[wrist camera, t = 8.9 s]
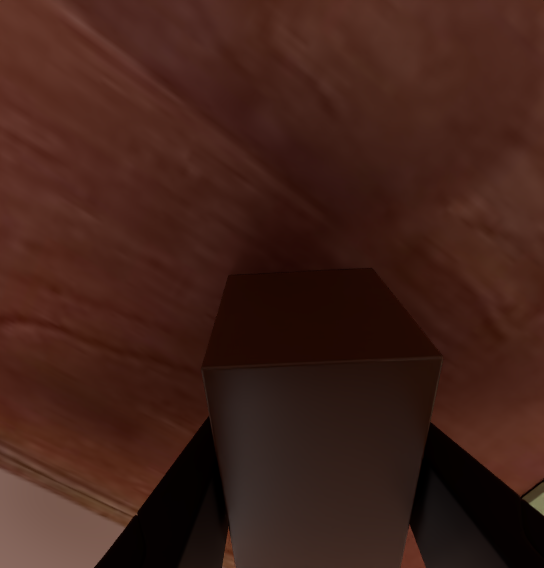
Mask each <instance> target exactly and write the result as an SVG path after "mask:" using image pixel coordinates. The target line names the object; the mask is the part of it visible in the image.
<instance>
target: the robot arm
mask: <svg viewBox="0 0 544 568" xmlns="http://www.w3.org/2000/svg"><path fill="white" fill-rule="evenodd" d="M137 514H138V516H137V515H135V516H134V517H133V518H132V520H131V521H130V522H129V524H128V525H127V527H126V528H125V529H124V531H123V532H122V533H121V534H120V536H119V537H118V538H117V540H116V541H115V542H114V544H113V545H112V546H111V547H110V549H109V550H108V551H107V553H106V554H105V555H104V556H103V558H102V559H101V560H100V561H99V562H98V564H97V565H96V566H95V567H94V568H222V563H223V557H224V551H225V544H226V538H227V532H228V526H229V525H228V519H227V514H226V508H225V502H224V497H223V491H222V485H221V480H220V474H219V468H218V463H217V457H216V451H215V446H214V440H213V434H212V428H211V423H210V417H209V416H208V417H207V419H206V420H205V421H204V423H203V424H202V426H201V427H200V428H199V430H198V431H197V432H196V434H195V435H194V436H193V438H192V439H191V440H190V442H189V443H188V444H187V446H186V447H185V448H184V450H183V451H182V453H181V454H180V455H179V457H178V458H177V459H176V461H175V462H174V463H173V465H172V466H171V467H170V469H169V470H168V471H167V473H166V474H165V475H164V477H163V478H162V480H161V481H160V482H159V484H158V485H157V486H156V488H155V489H154V490H153V492H152V493H151V494H150V496H149V497H148V498H147V500H146V501H145V502H144V504H143V505H142V507H141V508H140V509H139V511H138V512H137ZM409 524H410V526H411V529H412V532H413V534H414V537H415V540H416V542H417V545H418V547H419V550H420V553H421V555H422V558H423V561H424V563H425V566H426V568H544V515H542V514H541V513H540V512H539V511H538V510H536V509H535V508H534V507H533V506H532V505H530V504H529V503H528V502H527V501H526V500H524V499H520V496H519V495H518V494H517V493H516V492H514V491H513V490H512V489H511V488H510V487H508V486H507V485H506V484H505V483H504V482H502V481H501V480H500V479H499V478H498V477H496V476H495V475H494V474H493V473H492V472H490V471H489V470H488V469H487V468H485V467H484V466H483V465H482V464H481V463H479V462H478V461H477V460H476V459H475V458H473V457H472V456H471V455H470V454H469V453H467V452H466V451H465V450H464V449H463V448H461V447H460V446H459V445H458V444H457V443H455V442H454V441H453V440H452V439H451V438H449V437H448V436H447V435H446V434H444V433H443V432H442V431H441V430H440V429H438V428H437V427H436V426H435V425H434V424H432V423H431V422H430V426H429V431H428V436H427V440H426V445H425V450H424V455H423V460H422V465H421V470H420V475H419V479H418V484H417V489H416V494H415V499H414V504H413V509H412V514H411V518H410V523H409Z"/></svg>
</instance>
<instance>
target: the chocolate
mask: <svg viewBox="0 0 544 568" xmlns="http://www.w3.org/2000/svg"><path fill="white" fill-rule="evenodd" d="M442 363H443V356H442V354H441V353H440V352H439V351H438V349H437V348H436V347H435V346H434V344H433V343H432V342H431V341H430V339H429V338H428V337H427V336H426V334H425V333H424V332H423V331H422V329H421V328H420V327H419V326H418V324H417V323H416V322H415V321H414V319H413V318H412V317H411V316H410V315H409V313H408V312H407V311H406V310H405V308H404V307H403V306H402V305H401V303H400V302H399V301H398V300H397V298H396V297H395V296H394V295H393V293H392V292H391V291H390V290H389V288H388V287H387V286H386V285H385V283H384V282H383V281H382V280H381V279H380V277H379V276H378V275H377V274H376V272H375V271H374V270H373V269H372V268H365V269H345V270H325V271H305V272H286V273H266V274H246V275H229V276H228V279H227V282H226V286H225V289H224V292H223V296H222V299H221V303H220V306H219V309H218V313H217V316H216V320H215V323H214V326H213V330H212V333H211V337H210V340H209V343H208V347H207V350H206V354H205V357H204V360H203V364H202V367H201V372H202V377H203V383H204V389H205V394H206V400H207V406H208V411H209V417H210V423H211V428H212V434H213V440H214V446H215V451H216V457H217V463H218V468H219V474H220V480H221V485H222V491H223V497H224V502H225V508H226V514H227V519H228V525H229V531H230V536H231V542H232V548H233V553H234V559H235V565H236V568H400V567H401V562H402V557H403V552H404V548H405V543H406V538H407V533H408V528H409V523H410V518H411V514H412V509H413V504H414V499H415V494H416V489H417V484H418V479H419V475H420V470H421V465H422V460H423V455H424V450H425V445H426V440H427V436H428V431H429V426H430V421H431V416H432V411H433V406H434V402H435V397H436V392H437V387H438V382H439V377H440V372H441V367H442Z"/></svg>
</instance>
